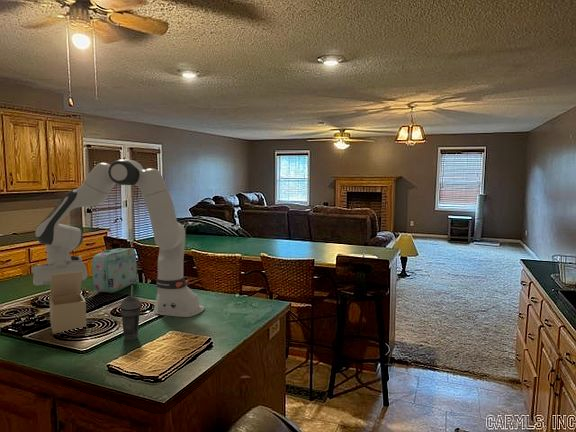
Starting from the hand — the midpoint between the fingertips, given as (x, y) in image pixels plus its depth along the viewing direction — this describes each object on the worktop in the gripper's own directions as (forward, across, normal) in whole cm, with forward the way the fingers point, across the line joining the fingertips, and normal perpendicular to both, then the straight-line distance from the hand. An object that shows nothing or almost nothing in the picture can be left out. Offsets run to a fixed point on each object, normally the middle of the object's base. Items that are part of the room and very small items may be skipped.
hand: (62, 290), depth 167 cm
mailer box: (+19, 0, -4) cm, 19 cm away
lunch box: (-14, +28, +29) cm, 42 cm away
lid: (+6, 0, -9) cm, 11 cm away
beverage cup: (+36, +17, -20) cm, 44 cm away
